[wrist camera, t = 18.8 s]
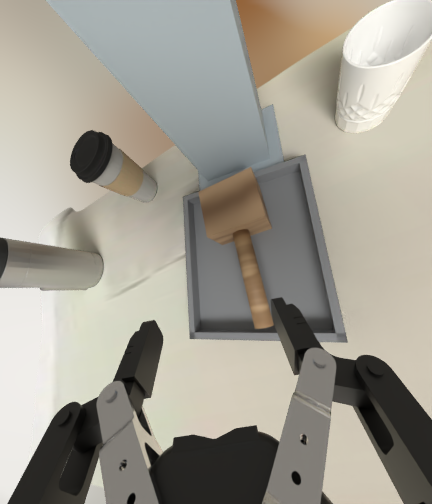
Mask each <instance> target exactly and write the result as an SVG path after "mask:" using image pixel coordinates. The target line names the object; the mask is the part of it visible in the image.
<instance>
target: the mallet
mask: <svg viewBox="0 0 432 504" xmlns="http://www.w3.org/2000/svg"><path fill="white" fill-rule="evenodd" d="M198 193H199V198H200V203H201V208H202V214H203V219H204V224H205V229H206V234H207V237H208V238H210V239H212V240H214V241H216V242H218V243H219V244H221V245H224V244H227V243H230V242H233V241H234V242H235V246H236V251H237V255H238V259H239V263H240V268H241V272H242V276H243V280H244V285H245V289H246V293H247V297H248V301H249V306H250V310H251V314H252V318H253V323H254V327H255V329H261V328H267V327H271V326H273V325H274V324H273V320H272V316H271V312H270V308H269V305H268V301H267V297H266V293H265V289H264V286H263V282H262V278H261V274H260V270H259V267H258V263H257V259H256V255H255V252H254V248H253V244H252V240H251V235H254V234H257V233H260V232H263V231H266V230H269V229H272V226H271V223H270V220H269V216H268V213H267V210H266V206H265V203H264V200H263V196H262V193H261V190H260V187H259V184H258V182H257V180H256V177H255V175H254V173H253V170H252V168H251V167H250V168H248V169H245V170H243V171H241V172H239V173H237V174H235V175H233V176H231V177H229V178H227V179H224V180H222V181H220V182H218V183H216V184H214V185H212V186H210V187H208V188H206V189H203V190H201V191H199V192H198Z"/></svg>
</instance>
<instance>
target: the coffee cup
mask: <svg viewBox="0 0 432 504" xmlns="http://www.w3.org/2000/svg"><path fill="white" fill-rule="evenodd" d="M70 166H71V169H72V170H73V171H74V172H75V173H76V174H77V176H78V178H79V179H81V180H82V181H84V182H86V183H90V182H94V183H96V184H98V185H100V186H102V187H104V188H107V189H109V190H112V191H114V192H117V193H119V194H122V195H124V196H129V197H131V198H134V199H136V200H139V201H142V202H149V201H151V200H152V199H153V198H154V197H155V195H156V192H157V184H156V182H155V181H154V180H153V179H152V178H151V177H149V176H148V175H147V174H146V173H145V172H144V171H143V170H142V168H140V167H139V166H138V165H137V164H136V163H135V162H134V161H133V160H132V159H130V158H129V157H128V156H127V155H126V154H125V153H124V152H122V150H120V149H118V148H117V147H116V146H115V145H114V144H113V143H112V140H111V138H110V137H109V136H108V135H105V134H104V133H102V132H95V131H93V130H91V131H87V132H86V133H84V134H83V135H82V136H81V137H80V138H79V140H78V141H77V143H76V145H75V146H74V148H73V151H72V154H71V159H70Z"/></svg>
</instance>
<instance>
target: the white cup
mask: <svg viewBox="0 0 432 504" xmlns="http://www.w3.org/2000/svg"><path fill="white" fill-rule="evenodd" d="M431 41H432V0H393V1H390V2H388V3H385V4H383V5H381V6H379V7H377V8H376V9H374V10H372V11H371V12H369V13H368V14H367V15H365V16H364V17H363V18H362V19H360V20H359V21H358V22H357V23H356V24H355V26H354V27H353V28H352V29H351V30H350V32H349V33H348V35H347V37H346V39H345V41H344V44H343V50H342V59H341V67H340V75H339V83H338V93H337V108H336V115H335V120H336V123H337V127H339V128H340V129H341V130H343V131H344V132H349V133H360V132H365V131H369V130H370V129H372V128H374V127H376V126H378V125H379V124H381V122H382V121H383V120H384V119H385V118H386V117H387V116H388V115H389V113H390V111H391V109H392V107H393V106H394V104H395V102H396V101H397V99H398V98H399V96H400V95H401V93H402V91H403V89H404V88H405V86H406V85H407V83H408V81H409V80H410V78H411V76H412V74H413V73H414V71H415V69H416V67H417V66H418V64H419V62H420V60H421V58H422V57H423V55H424V53H425V51H426V50H427V48H428V46H429V44H430V43H431Z"/></svg>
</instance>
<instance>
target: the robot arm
mask: <svg viewBox="0 0 432 504" xmlns="http://www.w3.org/2000/svg"><path fill="white" fill-rule="evenodd" d="M102 272H103V261H102V258H101V256H100V255H99V254H97V253H92V252H86V251H80V250H74V249H68V248H61V247H55V246H49V245H43V244H36V243H30V242H24V241H17V240H12V239H6V238H0V288H31V287H32V288H40V290H43V291H49V290H87V288H89V287H93V286H95V285H96V284H97V283H98V282H99V280H100V278H101V275H102ZM271 314H272V319H273V323H274V325H275V328H276V331H277V333H278V336H279V338H280V341H281V343H282V346H283V348H284V351H285V353H286V356H287V358H288V361H289V363H290V366H291V368H292V371H293V373H294V375H299V378H298V382H297V385H296V389H295V392H294V393H293V395H292V398H291V402H290V405H289V409H288V413H287V416H286V420H285V424H284V428H283V431H282V435H281V439H280V442H279V441H278V440H276V439H275V438H273V437H272V436H270V435H268V434H265V433H263V432H258V430H257V425H255V426H249V427H242V428H236V429H234V430H232V431H230V432H228V433H226V434H224V435H222V436H221V437H219V438H217V439H210V438H206V437H202V436H197V435H189V436H182V437H175V438H174V440H173V445H172V446H171V447H169V448H168V449H167V450H165V451H164V452H163V451H162V449H161V447H160V445H159V444H158V442H157V440H156V438H155V436H154V434H153V431H152V429H151V426H150V423H149V421H148V418H147V416H146V413H145V411H144V408H143V406H142V404H143V400H144V399H146V398H151V395H152V390H153V386H154V381H155V377H156V372H157V368H158V363H159V359H160V354H161V350H162V345H163V335H162V333H161V331H160V329H159V327H158V325H157V323H156V321H155V320H152V321H147V322H143V323H142V324H141V327H140V330H139V331H137V332H135V333H134V335H133V336H132V337H131V339H130V341H129V343H128V346H127V348H126V351H125V353H124V355H123V358H122V360H121V363H120V365H119V368H118V370H117V373H116V375H115V378H114V380H113V382H112V383H110V384H109V385H107V386H106V387H105V388H104V389H103V391H102V392H101V393H100V395H99V397H97V398H95V399H93V400H91V401H89V402H87V403H85V404H83V405H80V404H79V403H78V402H72V403H69V404H67V405H66V406H64V407H63V408H62V409H61V410H60V411H59V412H58V413H57V414H56V415H55V416H54V418H53V419H52V421H51V423H50V425H49V427H48V429H47V430H46V432H45V434H44V436H43V438H42V440H41V442H40V444H39V445H38V447H37V449H36V451H35V453H34V455H33V457H32V459H31V460H30V462H29V464H28V466H27V468H26V470H25V472H24V474H23V476H22V478H21V479H20V481H19V483H18V485H17V487H16V489H15V491H14V492H13V495H12V496H11V498H10V500H9V502H8V504H84V503H85V499H86V496H87V493H88V490H89V487H90V484H91V480H92V477H93V474H94V471H95V468H96V464H97V461H98V458H100V465H101V471H102V478H103V484H104V490H105V497H106V504H333V503H332V502H331V501H330V500H329V499H328V497H327V496H326V495H325V494H324V493H323V492H322V487H323V478H324V470H325V462H326V454H327V446H328V437H329V429H330V421H331V407H332V401H333V402H338V403H342V404H347V405H351V406H353V408H354V410H355V412H356V413H357V415H358V417H359V419H360V421H361V423H362V425H363V427H364V429H365V431H366V433H367V434H368V436H369V438H370V440H371V442H372V444H373V446H374V448H375V450H376V452H377V454H378V455H379V457H380V459H381V461H382V463H383V465H384V467H385V469H386V471H387V473H388V475H389V476H390V478H391V480H392V482H393V484H394V486H395V488H396V490H397V492H398V494H399V496H400V497H401V499H402V501H403V503H404V504H432V419H431V418H430V417H429V416H428V414H427V413H426V412H425V411H424V409H423V408H422V407H421V405H420V404H419V403H418V402H417V400H416V399H415V398H414V397H413V395H412V394H411V393H410V392H409V390H408V389H407V388H406V387H405V385H404V384H403V383H402V381H401V380H400V379H399V378H398V376H397V375H396V374H395V373H394V371H393V370H392V369H391V368H390V367H389V365H387V364H386V363H385V362H384V361H382V360H381V359H379V358H377V357H374V356H371V355H362V356H359V357H358V358H357V360H350V359H344V358H339V357H335V356H333V355H331V354H329V353H328V352H327V351H325V350H324V349H323V348H322V346H321V345H320V343H319V341H318V340H317V338H316V336H315V335H314V333H313V331H312V330H311V328H310V326H309V325H308V323H307V321H306V320H305V318H304V317H303V315H302V313H301V311H300V310H299V309H298V308H297V307H296V306H295V305H293V304H287V305H286V303H285V301H284V299H283V298H282V297H279V298H274V299H271ZM102 445H103V446H102ZM71 450H72V451H71ZM70 452H71V453H70ZM68 457H69V458H68ZM66 462H67V463H66ZM65 464H66V465H65ZM64 467H65V468H64ZM63 469H64V470H63ZM61 474H62V475H61Z"/></svg>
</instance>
